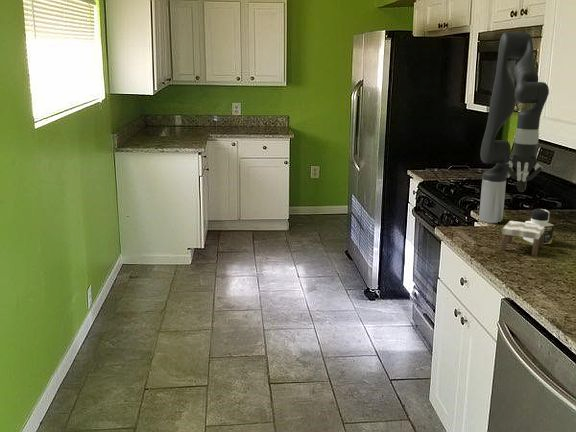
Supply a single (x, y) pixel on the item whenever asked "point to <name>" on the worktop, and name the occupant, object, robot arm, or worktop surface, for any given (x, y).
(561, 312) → the worktop surface
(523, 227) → the footstool
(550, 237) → the medicine bottle
